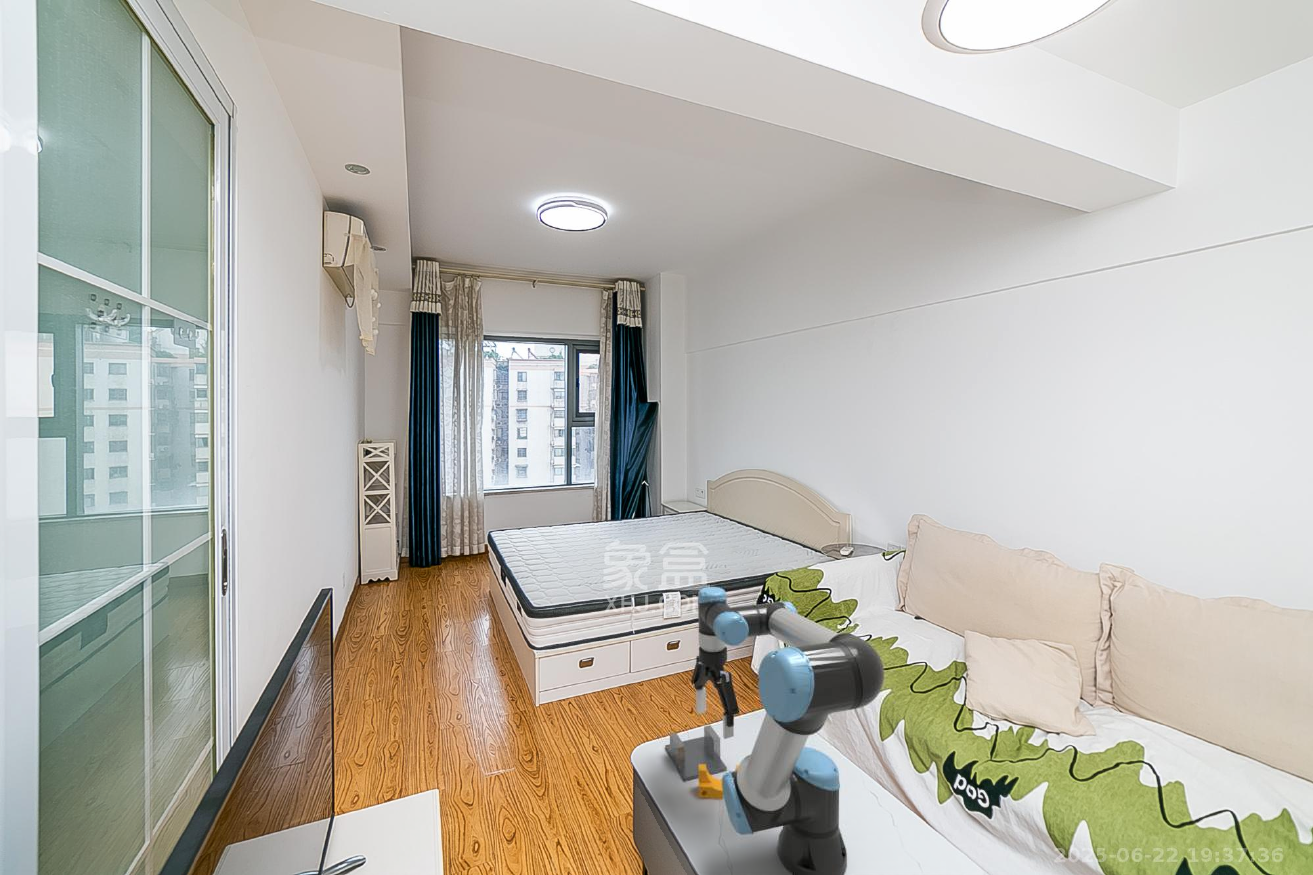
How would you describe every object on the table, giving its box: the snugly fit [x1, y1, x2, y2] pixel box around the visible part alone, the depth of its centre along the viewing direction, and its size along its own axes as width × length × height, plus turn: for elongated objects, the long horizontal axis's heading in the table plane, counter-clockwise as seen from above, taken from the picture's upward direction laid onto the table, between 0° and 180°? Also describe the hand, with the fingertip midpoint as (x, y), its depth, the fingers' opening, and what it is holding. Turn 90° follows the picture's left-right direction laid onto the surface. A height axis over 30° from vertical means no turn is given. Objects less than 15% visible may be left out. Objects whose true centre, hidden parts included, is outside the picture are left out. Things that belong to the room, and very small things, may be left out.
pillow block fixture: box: [664, 724, 728, 782], centre depth 160 cm, size 16×13×7 cm
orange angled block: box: [698, 764, 739, 800], centre depth 146 cm, size 12×4×6 cm, turn 85°
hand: (714, 724), depth 147 cm, fingers open, 13 cm apart
